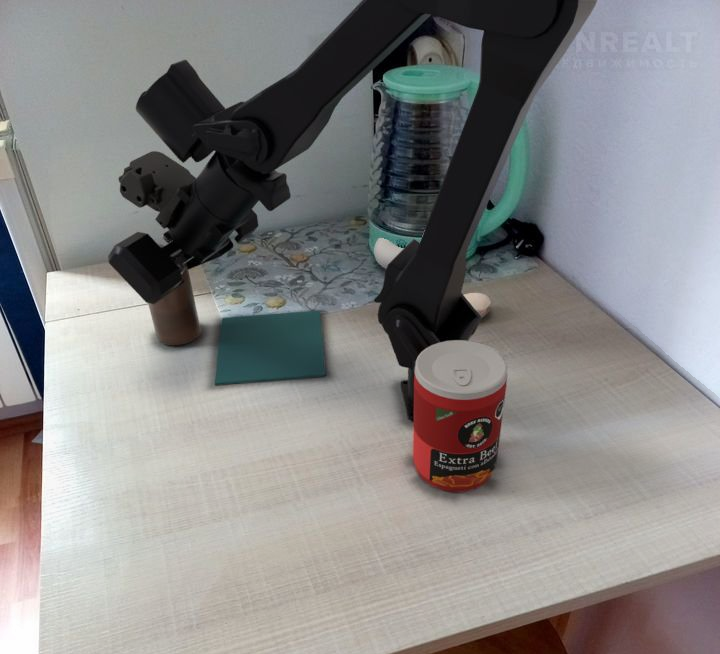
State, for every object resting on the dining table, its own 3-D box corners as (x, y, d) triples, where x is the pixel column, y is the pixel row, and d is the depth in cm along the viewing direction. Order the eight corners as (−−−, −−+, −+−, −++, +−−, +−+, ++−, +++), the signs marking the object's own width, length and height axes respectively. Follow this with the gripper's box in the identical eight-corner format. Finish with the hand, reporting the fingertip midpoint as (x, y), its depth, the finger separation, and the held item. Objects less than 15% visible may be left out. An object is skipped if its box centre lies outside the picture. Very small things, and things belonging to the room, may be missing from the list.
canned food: (430, 502, 61) (434, 400, 54) (400, 446, 67) (401, 348, 60) (510, 483, 63) (525, 382, 56) (475, 430, 69) (484, 332, 62)
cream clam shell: (483, 326, 84) (485, 306, 82) (443, 318, 85) (444, 299, 84) (493, 308, 87) (495, 290, 85) (454, 302, 88) (455, 283, 86)
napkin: (325, 376, 77) (325, 374, 77) (215, 385, 76) (214, 382, 76) (319, 312, 87) (319, 310, 87) (222, 319, 87) (222, 317, 87)
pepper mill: (205, 339, 83) (186, 249, 76) (160, 349, 82) (137, 258, 74) (196, 319, 87) (177, 231, 79) (153, 328, 85) (130, 239, 78)
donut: (430, 243, 102) (364, 252, 100) (431, 219, 99) (363, 229, 97) (458, 272, 94) (387, 283, 92) (460, 248, 92) (387, 259, 90)
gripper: (218, 104, 74) (158, 195, 85) (95, 161, 61) (43, 259, 72) (291, 189, 76) (223, 267, 87) (186, 261, 64) (122, 341, 75)
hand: (157, 281), depth 80 cm, fingers closed on pepper mill, 5 cm apart
